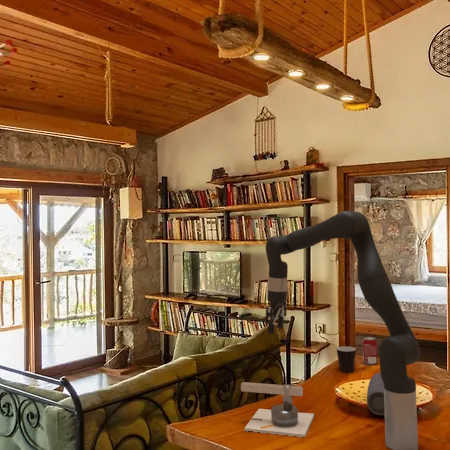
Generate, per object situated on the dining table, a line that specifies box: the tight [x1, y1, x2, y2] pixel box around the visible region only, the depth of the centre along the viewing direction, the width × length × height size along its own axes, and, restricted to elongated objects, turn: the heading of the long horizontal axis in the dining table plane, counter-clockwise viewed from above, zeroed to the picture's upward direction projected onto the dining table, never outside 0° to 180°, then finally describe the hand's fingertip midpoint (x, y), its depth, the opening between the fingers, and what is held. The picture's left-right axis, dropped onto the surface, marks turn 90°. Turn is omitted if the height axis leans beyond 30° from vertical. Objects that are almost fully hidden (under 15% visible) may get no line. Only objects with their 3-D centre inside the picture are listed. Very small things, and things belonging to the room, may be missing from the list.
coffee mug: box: [336, 346, 357, 374], centre depth 229 cm, size 12×9×10 cm
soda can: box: [361, 336, 379, 366], centre depth 241 cm, size 7×7×12 cm
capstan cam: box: [240, 381, 304, 426], centre depth 172 cm, size 21×9×12 cm, turn 71°
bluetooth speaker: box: [366, 372, 385, 416], centre depth 185 cm, size 23×9×10 cm, turn 161°
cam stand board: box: [244, 408, 315, 438], centre depth 172 cm, size 20×18×1 cm
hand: (275, 330), depth 192 cm, fingers open, 8 cm apart
